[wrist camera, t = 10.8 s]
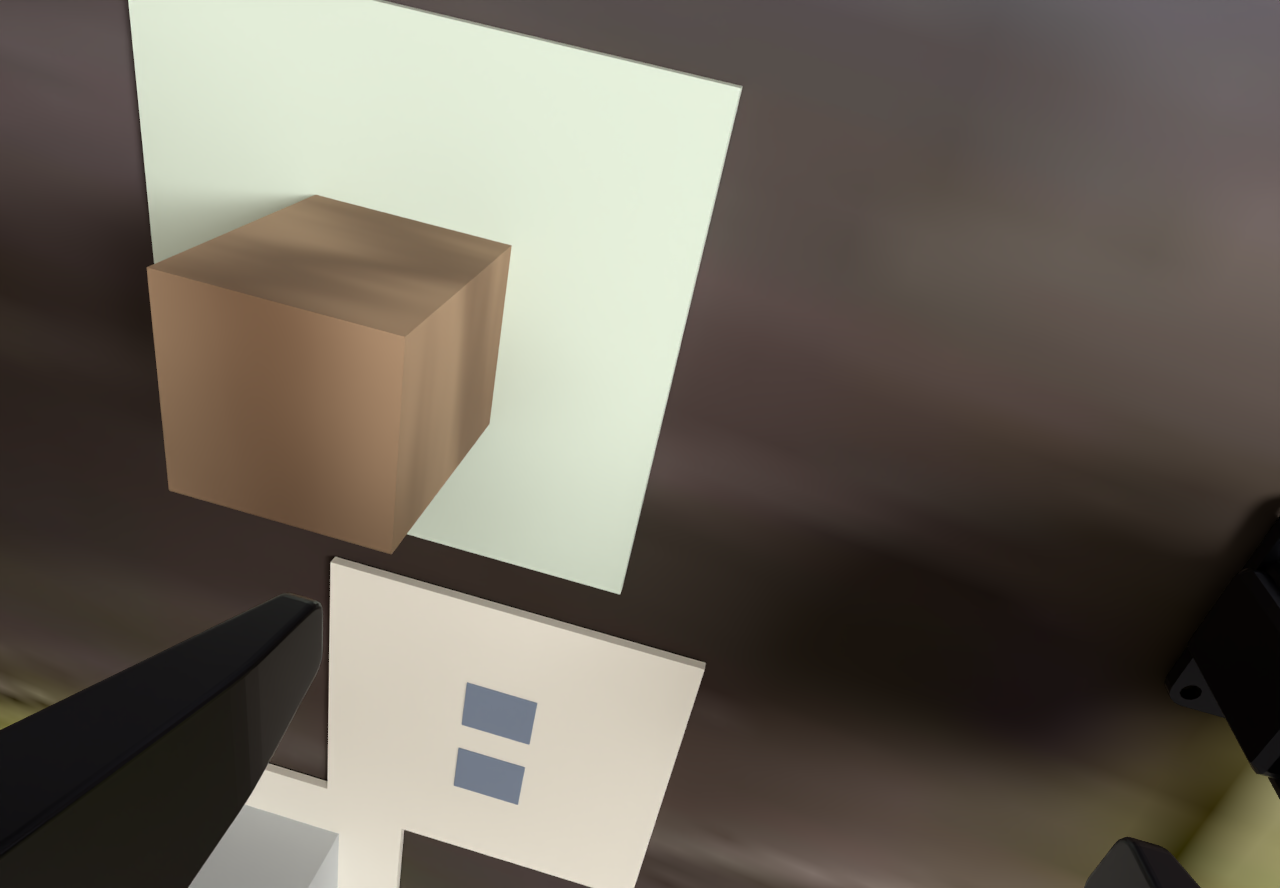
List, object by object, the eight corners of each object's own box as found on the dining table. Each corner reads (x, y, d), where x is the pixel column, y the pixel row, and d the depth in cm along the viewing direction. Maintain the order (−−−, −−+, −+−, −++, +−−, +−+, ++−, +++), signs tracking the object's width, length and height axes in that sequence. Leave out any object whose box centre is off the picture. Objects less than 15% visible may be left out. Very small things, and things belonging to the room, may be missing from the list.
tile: (406, 805, 32) (403, 812, 32) (393, 950, 37) (390, 957, 37) (160, 730, 33) (154, 736, 33) (180, 882, 38) (175, 888, 38)
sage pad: (742, 86, 18) (741, 88, 18) (622, 585, 25) (620, 594, 25) (135, -59, 19) (122, -60, 19) (182, 461, 26) (174, 468, 26)
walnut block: (511, 245, 21) (405, 337, 15) (489, 424, 23) (391, 554, 18) (315, 194, 21) (146, 267, 16) (314, 375, 23) (168, 490, 18)
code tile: (705, 662, 26) (704, 670, 26) (631, 891, 32) (630, 900, 32) (335, 556, 27) (329, 562, 27) (331, 799, 33) (326, 806, 33)
